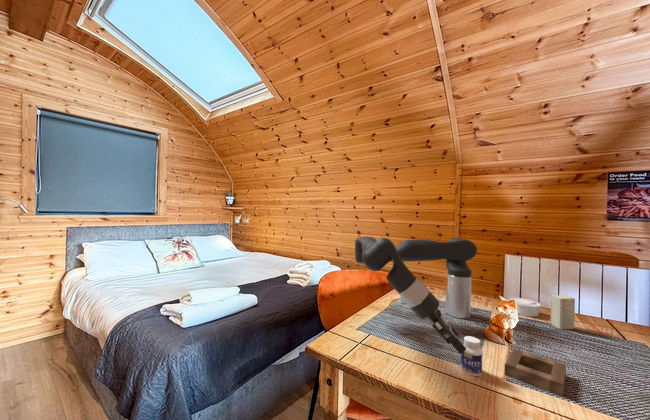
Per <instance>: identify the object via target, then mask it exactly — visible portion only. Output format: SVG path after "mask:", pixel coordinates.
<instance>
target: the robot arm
mask: <svg viewBox="0 0 650 420" xmlns="http://www.w3.org/2000/svg"><path fill="white" fill-rule="evenodd" d="M354 252H355V253H354V255H355V257H354V258H355V262H357V263H358V264H362V265H363V264H364V265H365V266H366V268H367V269H369V270H370V271H372V272H378V271H380V270H382V269H383V268H384V267H385V266H386V265H388V264H389V263H390V262H391V263H392V268H391V269H390V271H389V272H388V273H387V275H386V280H387V282H388V283H389V284H390V286H391V287H392V288H393V289H394V290H395V291H396V292H397V294H398V295H399V297H401V299H402V300H403V302H404V303H405V304H406V305H407V306H408V307H409V308H410V309H411V311H412V312H413V313H414V314H415V316H417V318H418V319H420V320H423V319H424V320H425V319H429V323H430V324H431V326H432V327H433V328H434V330H435V331H436V332H437V333H438V334H439V335H440V336H441V337H442V338H443V340H444V341H445V342H446V344H448V345H451V346H452V347H453V348H454V349H455V351H457V353H458V354H461V353H463V352H464V351H465V350H466V348H465V346H464V345H463V344H464V343H462V341H460V339H459V338H458V336H459V333H458V331H457V330H456V329H455V328H454V327H453V325H452V324H451V323H450V321H449V320H448V318H447V317H446V316H445V315H444V314H443V312H442V310H440V309H439V307H440V301H439V299H437V297H436V296H435V295H434V294H433V292H431V291H430V289H428V287H427V286H425V284H424V283H423V282H422V281H421V280H419V279H418V278H417V276H415V275H414V273H413V272H412V271H411V270H410V269H409V268H408V266H407V265H406V264H405V262H429V261H439V260H440V261H441V260H445V265H446V269H447V290H446V291H445V309H444V310H445V314H448V315H449V316H451V317H454V318H459V319H469V318H471V315H472V311H471V309H472V308H471V307H472V301H471V300H472V269H471V268H470V267H469V265H468V263H467V261H471V260H472V259H473V258H475V257H476V255H477V253H478V249H477V245H476V244H475V243H474V242H473V241H471V240H469V239H466V238H461V237H453V238H450V239H449V240H448V241H438V240H437V241H436V240H429V239H406V240H403V241H401V242H400V243H399V244H397V245H395V243H394V242H393V241H391V240H390V239H389V238H387V237H380V238H378V239H376V238H375V237H372V236H359V237H358V238H356V239H355V242H354ZM447 334H448V335H449V336H447Z"/></svg>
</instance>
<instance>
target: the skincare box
mask: <svg viewBox="0 0 650 420" xmlns="http://www.w3.org/2000/svg"><path fill="white" fill-rule="evenodd" d="M575 312H576V298H575V297H572V296H569V295H567V294H552V295H551V296H550V325H551V326H553V327H555V328H557V329H559V330H574V329H575V322H576V321H575V319H576V315H575Z"/></svg>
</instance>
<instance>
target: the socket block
mask: <svg viewBox="0 0 650 420" xmlns="http://www.w3.org/2000/svg"><path fill="white" fill-rule="evenodd" d="M504 375H505V376H508V377H510V378H513V379H515V380H518V381H521V382H523V383H525V384H528V385H531V386H534V387H536V388H540V389H542V390H545V391H547V392H550V393H551V394H554V395H558V396H560V397H564V391H565V384H566V375H567V365H566V364H564V363H561V362H558V361H554V360H551V359H548V358H545V357H541V356H538V355H535V354H532V353H529V352H526V351H523V350H520V349H517V348H513V349H512V350H511V352H510V354H509V356H508V357H507V359H506V361H505V362H504Z"/></svg>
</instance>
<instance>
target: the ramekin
mask: <svg viewBox="0 0 650 420" xmlns="http://www.w3.org/2000/svg"><path fill="white" fill-rule="evenodd" d="M510 300H515V301H516V302H517V309H518V314H517V315H519V316H522V317H528V318H535V317H538V316H539V313H540V310H541V308H542V305H541V303H539V302H538V301H534V300H532V299H528V298H522V297H512V298H510V299H509V301H510Z"/></svg>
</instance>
